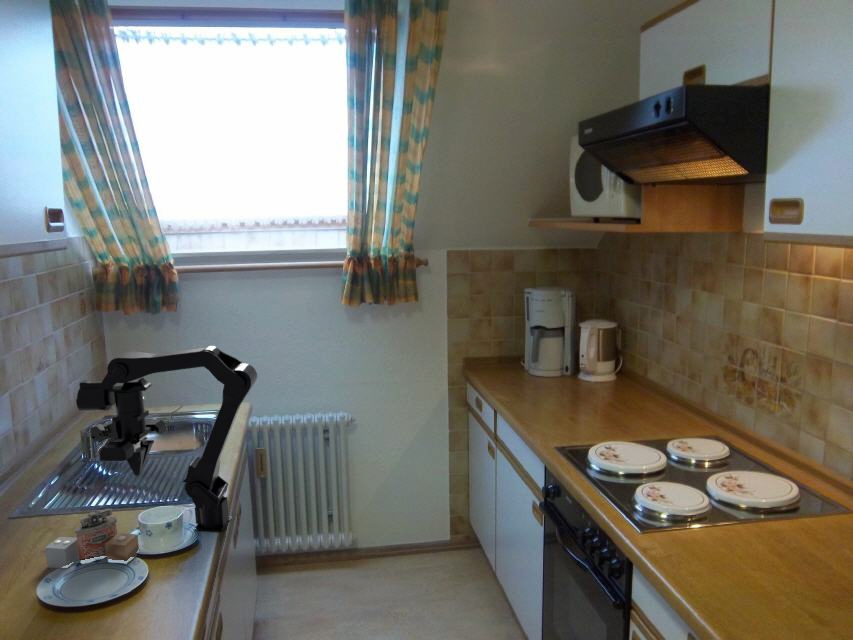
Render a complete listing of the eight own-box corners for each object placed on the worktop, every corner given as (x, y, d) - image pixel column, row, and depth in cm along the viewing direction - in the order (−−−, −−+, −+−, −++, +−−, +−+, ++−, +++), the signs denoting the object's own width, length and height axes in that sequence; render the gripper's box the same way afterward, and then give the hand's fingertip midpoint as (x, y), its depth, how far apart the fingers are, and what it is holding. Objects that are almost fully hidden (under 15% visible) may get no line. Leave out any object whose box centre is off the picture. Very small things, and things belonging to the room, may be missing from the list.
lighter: (81, 566, 140) (75, 521, 139) (77, 559, 143) (71, 515, 141) (122, 552, 146) (117, 509, 144) (117, 546, 148) (112, 504, 146)
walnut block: (139, 553, 145) (137, 533, 144) (127, 565, 141) (124, 544, 140) (120, 552, 146) (117, 532, 145) (107, 563, 142) (105, 542, 141)
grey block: (81, 557, 144) (78, 537, 143) (67, 569, 140) (64, 548, 139) (62, 556, 145) (59, 535, 144) (47, 567, 140) (44, 546, 140)
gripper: (118, 396, 161) (126, 458, 164) (70, 423, 143) (79, 492, 146) (163, 396, 160) (170, 459, 163) (120, 423, 142) (129, 493, 145)
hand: (138, 475), depth 154 cm, fingers closed
